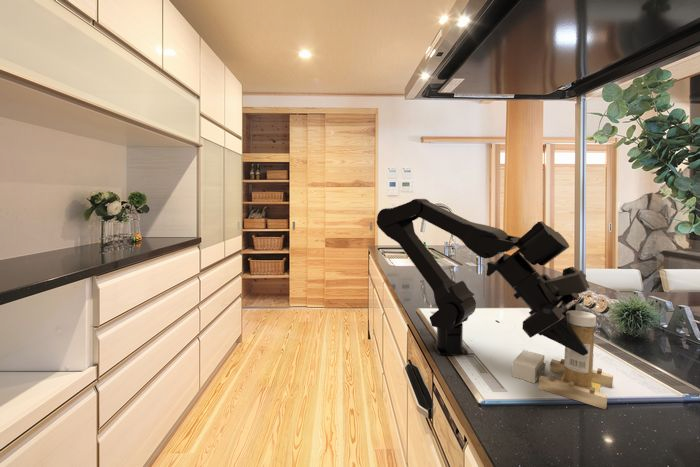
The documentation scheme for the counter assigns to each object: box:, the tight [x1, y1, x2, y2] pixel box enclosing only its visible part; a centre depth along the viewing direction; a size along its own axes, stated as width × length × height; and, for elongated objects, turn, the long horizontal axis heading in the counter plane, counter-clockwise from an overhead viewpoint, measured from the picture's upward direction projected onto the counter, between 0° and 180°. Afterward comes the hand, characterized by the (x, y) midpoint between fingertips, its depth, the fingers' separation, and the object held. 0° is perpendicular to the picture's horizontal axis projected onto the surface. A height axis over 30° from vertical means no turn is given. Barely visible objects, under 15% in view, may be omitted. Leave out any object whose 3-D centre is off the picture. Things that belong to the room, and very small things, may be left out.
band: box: [559, 374, 602, 393], centre depth 64 cm, size 6×7×1 cm
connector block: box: [511, 349, 546, 384], centre depth 69 cm, size 4×7×3 cm, turn 138°
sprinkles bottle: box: [563, 310, 597, 390], centre depth 63 cm, size 5×5×14 cm
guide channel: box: [538, 358, 614, 410], centre depth 64 cm, size 10×10×3 cm
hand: (588, 349), depth 62 cm, fingers closed on sprinkles bottle, 4 cm apart
